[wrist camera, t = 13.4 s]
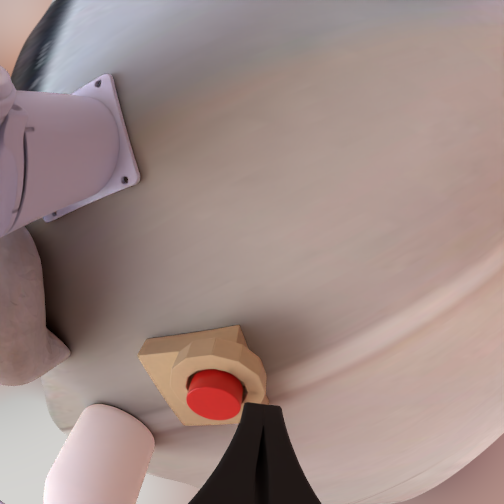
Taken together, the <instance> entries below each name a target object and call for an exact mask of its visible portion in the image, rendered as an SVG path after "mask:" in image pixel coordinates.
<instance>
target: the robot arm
mask: <svg viewBox="0 0 504 504" xmlns="http://www.w3.org/2000/svg"><path fill="white" fill-rule="evenodd" d="M100 81H101V86H100V87H98V84H99V82H100ZM125 176H126V177H127V178H128V183H125V181H124V178H125ZM139 181H140V173H139V170H138V167H137V163H136V160H135V157H134V154H133V150H132V147H131V144H130V140H129V137H128V133H127V130H126V126H125V123H124V119H123V115H122V111H121V108H120V104H119V100H118V96H117V92H116V88H115V84H114V80H113V77H112V75H110V74H103V75H101V76H99V77H98V78H96V79H94V80H93V81H91V82H89V83H88V84H86V85H84V86H83V87H81V88H79V89H78V90H76V91H75V92H73V93H72V94H70V95H68V94H59V93H48V92H35V91H16V89H15V87H14V85H13V83H12V82H11V78H10V75H9V73H8V72H7V71H6V70H5V69H4V68H3V67H2V66H0V238H1V237H3V236H5V235H7V234H9V233H11V232H13V231H15V230H17V229H19V228H21V227H23V226H25V225H27V224H29V223H31V222H33V221H35V220H38V219H40V218H42V217H43V220H44V221H45V222H46V223H49V222H51V221H53V220H55V219H57V218H59V217H61V216H63V215H65V214H68V213H70V212H72V211H74V210H76V209H78V208H81V207H83V206H85V205H87V204H90V203H92V202H94V201H96V200H99V199H101V198H103V197H106V196H108V195H111V194H113V193H115V192H118V191H120V190H123V189H125V188H128V187H130V186H133V185H135V184H137V183H138V182H139ZM55 211H56V213H55ZM0 504H5V503H3V502H2V501H0ZM188 504H321V502H320V501H319V499H318V498H317V496H316V495H315V493H314V491H313V489H312V488H311V486H310V484H309V482H308V481H307V479H306V477H305V475H304V473H303V471H302V468H301V466H300V464H299V462H298V460H297V457H296V455H295V452H294V450H293V447H292V444H291V442H290V439H289V436H288V433H287V429H286V426H285V422H284V418H283V414H282V409H281V407H280V406H274V405H266V404H258V403H251V402H246V403H244V406H243V411H242V415H241V419H240V422H239V425H238V428H237V430H236V432H235V434H234V437H233V439H232V441H231V443H230V445H229V447H228V449H227V450H226V452H225V454H224V456H223V457H222V459H221V461H220V462H219V464H218V466H217V467H216V469H215V470H214V472H213V473H212V474H211V476H210V477H209V479H208V480H207V481H206V483H205V484H204V485H203V487H202V488H201V489H200V490H199V491H198V493H197V494H196V495H195V496H194V498H193V499H192V500H191V501H190V502H189V503H188Z"/></svg>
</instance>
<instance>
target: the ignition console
mask: <svg viewBox="0 0 504 504" xmlns="http://www.w3.org/2000/svg"><path fill="white" fill-rule="evenodd" d="M137 356H138V358H139V360H140V361H141V363H142V365H143V366H144V368H145V370H146V371H147V373H148V374H149V376H150V377H151V379H152V381H153V382H154V384H155V385H156V387H157V388H158V390H159V391H160V393H161V394H162V396H163V397H164V399H165V400H166V402H167V403H168V405H169V406H170V407H171V409H172V410H173V412H174V413H175V414H176V416H177V417H178V419H179V420H180V421H181V423H182V424H183V425H184V426H191V425H220V424H235V423H239V422H240V419H241V415H242V411H243V406H244V403H246V402H251V403H258V404H266V405H269V400H268V398H267V395H266V378H267V375H266V372H265V369H264V367H263V364H262V361H261V359H260V358H259V357H258V356H257V355H255V354H254V353H253V352H251V351H250V350H249V349H248V346H247V344H246V341H245V338H244V336H243V333H242V330H241V328H240V325H236V326H230V327H225V328H219V329H213V330H206V331H200V332H194V333H187V334H180V335H173V336H166V337H158V338H150V339H146V341H145V343H144V344H143V346H142V348H141V349H140V351H139V353H138V355H137ZM206 369H217V370H221V371H225V372H228V373H230V374H232V375H234V376H235V377H236V378H237V379H238V380H239V381H240V382H241V384H242V386H243V395H242V403H241V409H240V412H239V413H238V414H237V415H236V416H235V417H233V418H231V419H228V420H211V419H207V418H204V417H202V416H199V415H198V414H196V413H195V412H193V411H192V410H191V409H190V408H189V406H188V404H187V402H186V396H187V393H188V390H189V387H190V384H191V381H192V378H193V376H194V375H195V374H196V373H198V372H200V371H202V370H206Z"/></svg>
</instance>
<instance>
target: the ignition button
mask: <svg viewBox="0 0 504 504" xmlns="http://www.w3.org/2000/svg"><path fill="white" fill-rule="evenodd" d="M242 395H243V386H242V384H241V382H240V381H239V380H238V379H237V378H236V377H235V376H234V375H232V374H230V373H228V372H225V371H221V370H217V369H206V370H202V371H200V372H198V373H196V374H195V375H194V376H193V378H192V381H191V384H190V387H189V390H188V393H187V396H186V402H187V404H188V406H189V408H190V409H191V410H192V411H193V412H195V413H196V414H198V415H199V416H202V417H204V418H207V419H211V420H228V419H231V418H233V417H235V416H236V415H237V414H238V413H239V412H240V409H241V403H242Z"/></svg>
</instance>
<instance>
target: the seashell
mask: <svg viewBox="0 0 504 504" xmlns="http://www.w3.org/2000/svg"><path fill="white" fill-rule="evenodd" d="M69 356H70V350H69V349H68V348H67V346H66V345H65V344H64V343H63V342H62V341H61V340H60V339H58V338H57V337H56V336H55V335H54V334H53V333H51V332H50V331H49V330H48V329H47V328H46V313H45V294H44V287H43V275H42V266H41V261H40V257H39V254H38V252H37V248H36V246H35V243H34V241H33V239H32V236H31V234H30V233H29V231H28V230H27V229H26V227H25V226H23V227H21V228H19V229H17V230H15V231H13V232H11V233H9V234H7V235H5V236H3V237H1V238H0V384H1V385H7V386H18V385H23V384H27V383H29V382H32V381H34V380H35V379H37V378H39V377H41V376H42V375H44V374H45V373H47V372H48V371H50V370H51V369H53V368H54V367H56V366H57V365H59V364H60V363H61V362H63V361H64V360H66V359H67V358H68V357H69Z"/></svg>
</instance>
